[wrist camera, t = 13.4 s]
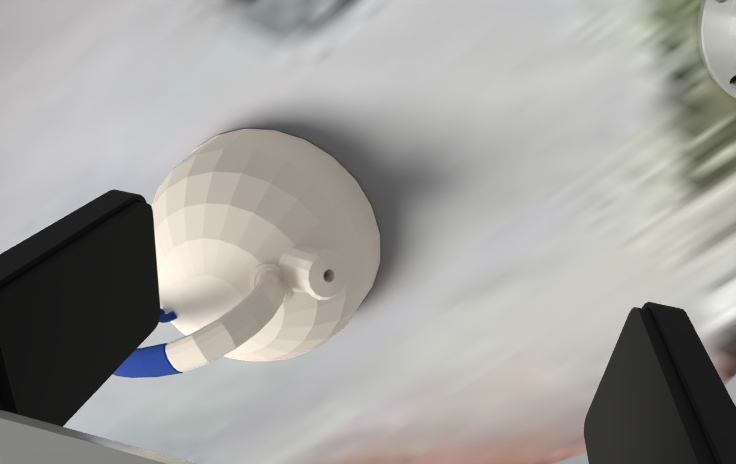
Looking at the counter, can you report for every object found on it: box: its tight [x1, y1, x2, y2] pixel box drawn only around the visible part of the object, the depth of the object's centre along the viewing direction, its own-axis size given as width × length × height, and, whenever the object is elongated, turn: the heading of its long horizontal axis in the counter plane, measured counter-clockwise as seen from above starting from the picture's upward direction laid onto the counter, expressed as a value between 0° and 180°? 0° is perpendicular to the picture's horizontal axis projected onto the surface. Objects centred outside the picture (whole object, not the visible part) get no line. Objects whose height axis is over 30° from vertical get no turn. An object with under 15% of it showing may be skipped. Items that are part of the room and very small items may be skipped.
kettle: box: [113, 129, 380, 378], centre depth 41 cm, size 20×21×18 cm
